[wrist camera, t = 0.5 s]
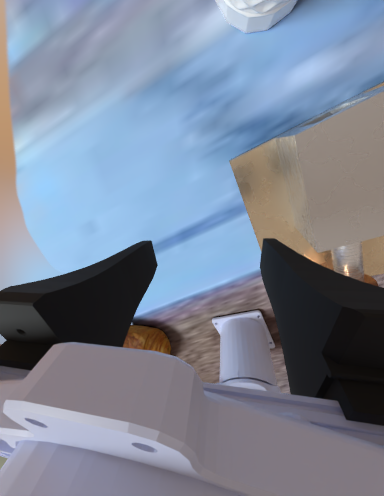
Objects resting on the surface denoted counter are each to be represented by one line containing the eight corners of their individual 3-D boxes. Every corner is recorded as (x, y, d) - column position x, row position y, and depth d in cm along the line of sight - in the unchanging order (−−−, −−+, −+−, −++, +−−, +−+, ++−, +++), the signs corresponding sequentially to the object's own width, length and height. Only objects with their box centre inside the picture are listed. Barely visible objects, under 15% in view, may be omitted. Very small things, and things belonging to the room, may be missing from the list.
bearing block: (407, 261, 19) (474, 303, 14) (275, 290, 24) (288, 328, 19) (421, 62, 12) (566, 0, 7) (229, 160, 17) (231, 167, 12)
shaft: (361, 276, 19) (390, 304, 16) (320, 285, 21) (339, 312, 17) (354, 180, 15) (392, 190, 11) (302, 199, 16) (323, 213, 13)
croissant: (103, 307, 36) (69, 342, 30) (169, 320, 32) (147, 366, 25) (123, 348, 43) (100, 384, 37) (180, 364, 38) (165, 409, 32)
